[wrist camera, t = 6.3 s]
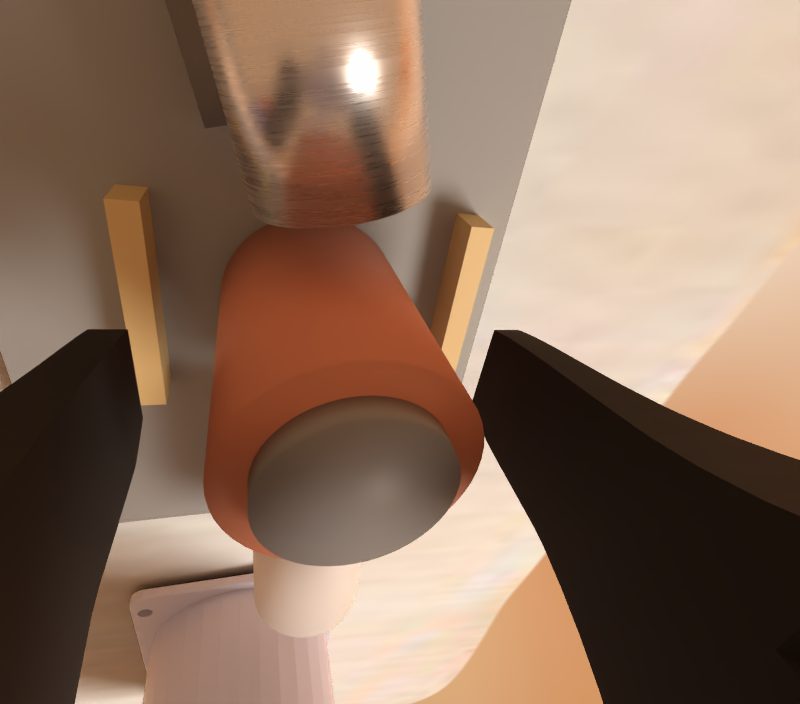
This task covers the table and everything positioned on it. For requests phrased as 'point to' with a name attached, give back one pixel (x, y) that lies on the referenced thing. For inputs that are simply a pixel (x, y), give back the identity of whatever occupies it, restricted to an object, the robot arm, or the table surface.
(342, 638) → the table surface
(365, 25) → the shaft
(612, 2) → the table surface
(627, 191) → the table surface
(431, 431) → the cylinder
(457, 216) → the bench
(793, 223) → the table surface
